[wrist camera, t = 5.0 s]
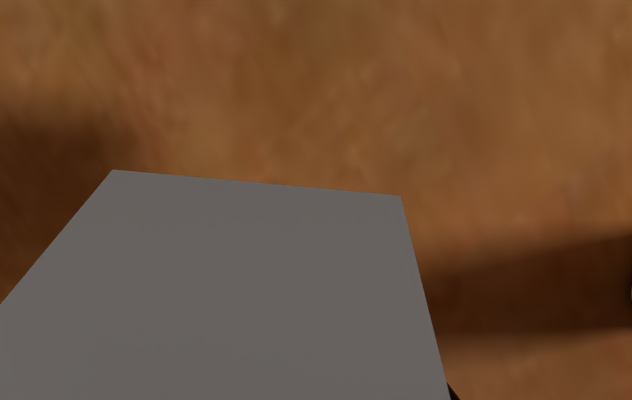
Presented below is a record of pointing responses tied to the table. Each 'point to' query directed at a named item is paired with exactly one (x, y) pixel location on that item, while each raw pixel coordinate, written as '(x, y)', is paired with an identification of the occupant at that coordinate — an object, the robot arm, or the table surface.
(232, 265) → the grey block
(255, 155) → the table surface
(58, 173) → the table surface
